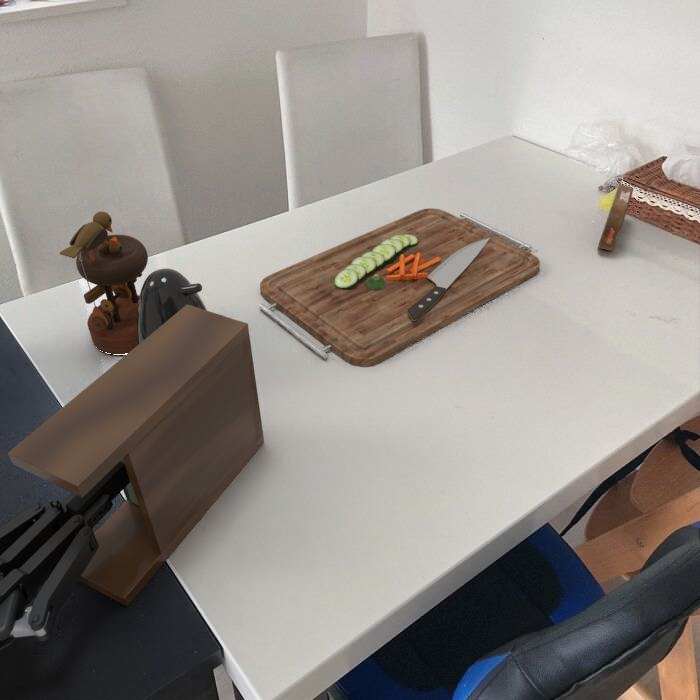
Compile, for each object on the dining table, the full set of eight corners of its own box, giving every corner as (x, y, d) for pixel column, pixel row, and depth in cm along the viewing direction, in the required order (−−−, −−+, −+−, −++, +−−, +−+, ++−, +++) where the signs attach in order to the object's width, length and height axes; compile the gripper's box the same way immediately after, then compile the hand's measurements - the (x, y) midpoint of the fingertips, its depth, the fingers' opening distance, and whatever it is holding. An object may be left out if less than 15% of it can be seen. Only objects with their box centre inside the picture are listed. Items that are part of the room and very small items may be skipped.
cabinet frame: (66, 574, 69) (7, 452, 57) (210, 421, 85) (187, 304, 74) (127, 607, 66) (77, 486, 54) (264, 442, 82) (248, 323, 71)
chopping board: (441, 206, 129) (442, 192, 127) (556, 263, 113) (560, 247, 111) (240, 294, 107) (237, 278, 105) (348, 380, 91) (347, 362, 89)
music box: (150, 366, 94) (103, 238, 81) (77, 365, 96) (20, 240, 83) (186, 303, 106) (150, 183, 93) (121, 303, 107) (76, 185, 95)
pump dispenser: (197, 397, 89) (177, 302, 79) (130, 380, 92) (102, 286, 82) (234, 351, 96) (219, 258, 87) (171, 336, 99) (149, 245, 90)
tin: (607, 217, 125) (618, 174, 120) (625, 221, 124) (637, 177, 118) (594, 257, 114) (605, 211, 109) (613, 261, 113) (625, 215, 108)
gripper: (-118, 662, 58) (84, 473, 74) (-13, 737, 53) (178, 517, 69) (-161, 616, 53) (65, 424, 70) (-50, 693, 49) (165, 468, 65)
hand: (121, 470), depth 69 cm, fingers closed
